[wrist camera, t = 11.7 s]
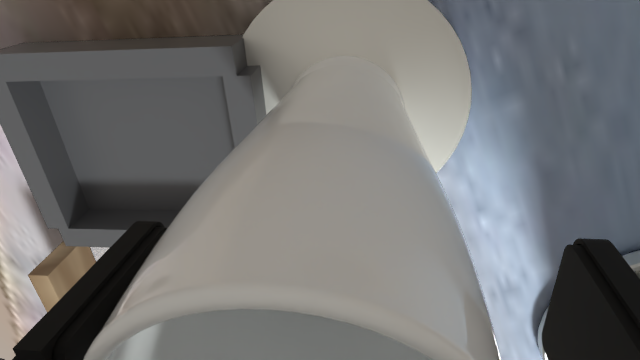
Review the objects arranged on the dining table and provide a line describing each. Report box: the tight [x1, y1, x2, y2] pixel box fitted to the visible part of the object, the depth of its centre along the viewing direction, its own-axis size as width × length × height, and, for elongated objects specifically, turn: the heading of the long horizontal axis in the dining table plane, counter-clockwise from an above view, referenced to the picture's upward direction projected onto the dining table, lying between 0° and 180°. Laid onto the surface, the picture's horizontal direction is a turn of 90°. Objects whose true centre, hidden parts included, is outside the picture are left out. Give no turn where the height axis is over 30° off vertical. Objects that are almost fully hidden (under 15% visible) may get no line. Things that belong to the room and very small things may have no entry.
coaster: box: [242, 0, 472, 173], centre depth 19 cm, size 11×11×1 cm
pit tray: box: [0, 35, 266, 247], centre depth 21 cm, size 12×10×2 cm
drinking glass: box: [83, 55, 501, 360], centre depth 13 cm, size 7×7×15 cm
